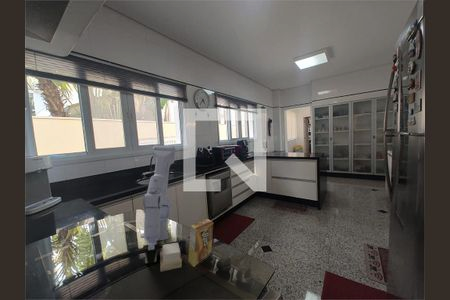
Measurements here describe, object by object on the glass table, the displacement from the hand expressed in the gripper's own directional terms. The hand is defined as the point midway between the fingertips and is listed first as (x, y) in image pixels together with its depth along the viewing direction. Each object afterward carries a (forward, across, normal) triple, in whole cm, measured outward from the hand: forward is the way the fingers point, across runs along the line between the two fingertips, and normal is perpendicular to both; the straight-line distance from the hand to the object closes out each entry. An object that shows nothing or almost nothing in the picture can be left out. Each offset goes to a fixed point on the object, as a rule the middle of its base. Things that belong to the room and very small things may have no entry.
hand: (151, 255), depth 68 cm
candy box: (+2, +6, +18) cm, 20 cm away
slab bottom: (+2, +4, +7) cm, 8 cm away
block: (+2, 0, 0) cm, 2 cm away
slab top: (-1, +4, +7) cm, 8 cm away
